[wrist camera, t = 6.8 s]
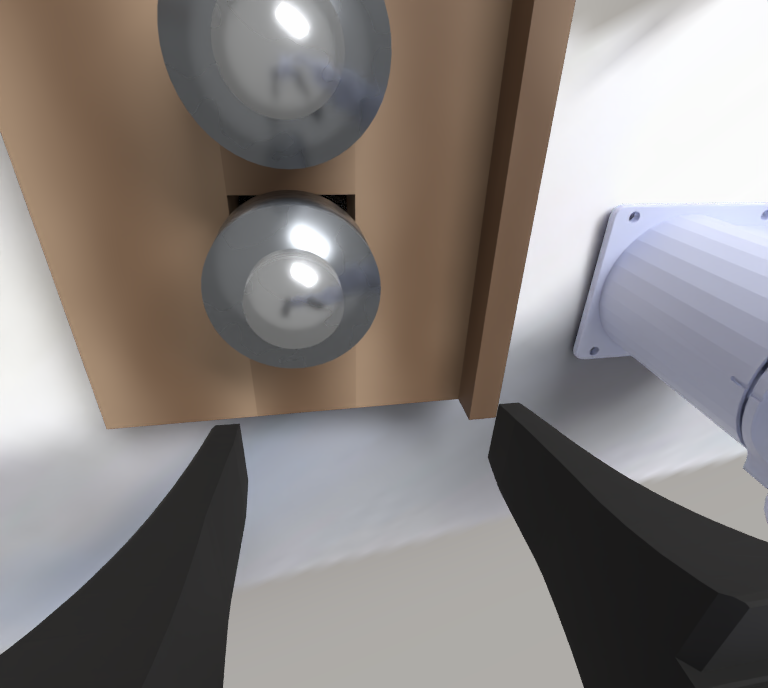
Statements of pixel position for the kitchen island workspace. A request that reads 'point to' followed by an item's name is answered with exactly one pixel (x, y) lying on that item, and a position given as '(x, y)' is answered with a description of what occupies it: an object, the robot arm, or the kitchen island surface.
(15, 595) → the kitchen island surface
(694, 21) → the kitchen island surface
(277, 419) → the kitchen island surface
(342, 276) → the stepped metal shaft
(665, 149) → the kitchen island surface
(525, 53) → the block
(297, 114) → the seated shaft
